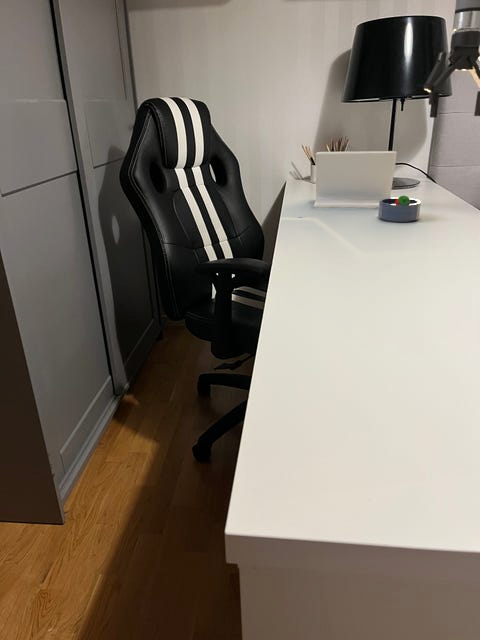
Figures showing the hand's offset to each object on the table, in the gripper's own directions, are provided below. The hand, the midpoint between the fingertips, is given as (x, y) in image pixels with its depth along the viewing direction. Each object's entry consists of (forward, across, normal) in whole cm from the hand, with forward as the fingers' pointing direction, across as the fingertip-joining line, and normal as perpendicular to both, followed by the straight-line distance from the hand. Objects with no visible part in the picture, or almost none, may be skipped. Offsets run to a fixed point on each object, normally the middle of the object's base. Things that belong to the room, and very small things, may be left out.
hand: (455, 116), depth 143 cm
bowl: (+27, +18, +8) cm, 33 cm away
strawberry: (+26, +18, +8) cm, 32 cm away
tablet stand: (+27, +22, -20) cm, 40 cm away
